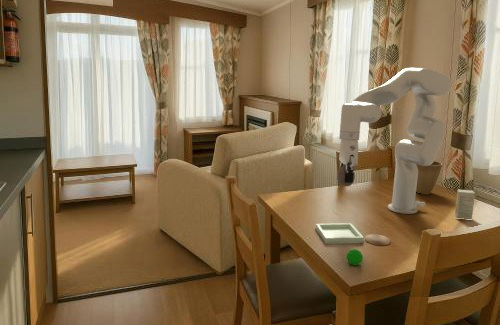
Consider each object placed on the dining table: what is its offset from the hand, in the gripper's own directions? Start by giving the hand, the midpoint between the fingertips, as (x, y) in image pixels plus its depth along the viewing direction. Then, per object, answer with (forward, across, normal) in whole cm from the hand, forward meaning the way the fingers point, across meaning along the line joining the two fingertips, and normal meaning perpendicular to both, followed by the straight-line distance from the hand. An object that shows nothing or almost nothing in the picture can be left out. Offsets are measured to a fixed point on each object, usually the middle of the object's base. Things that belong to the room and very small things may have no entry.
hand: (345, 179), depth 164 cm
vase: (+3, 0, 0) cm, 3 cm away
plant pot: (+18, +42, -54) cm, 71 cm away
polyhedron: (+19, -36, +7) cm, 42 cm away
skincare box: (+18, +4, -53) cm, 56 cm away
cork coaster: (+18, -18, -8) cm, 27 cm away
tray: (+18, -13, +5) cm, 23 cm away
